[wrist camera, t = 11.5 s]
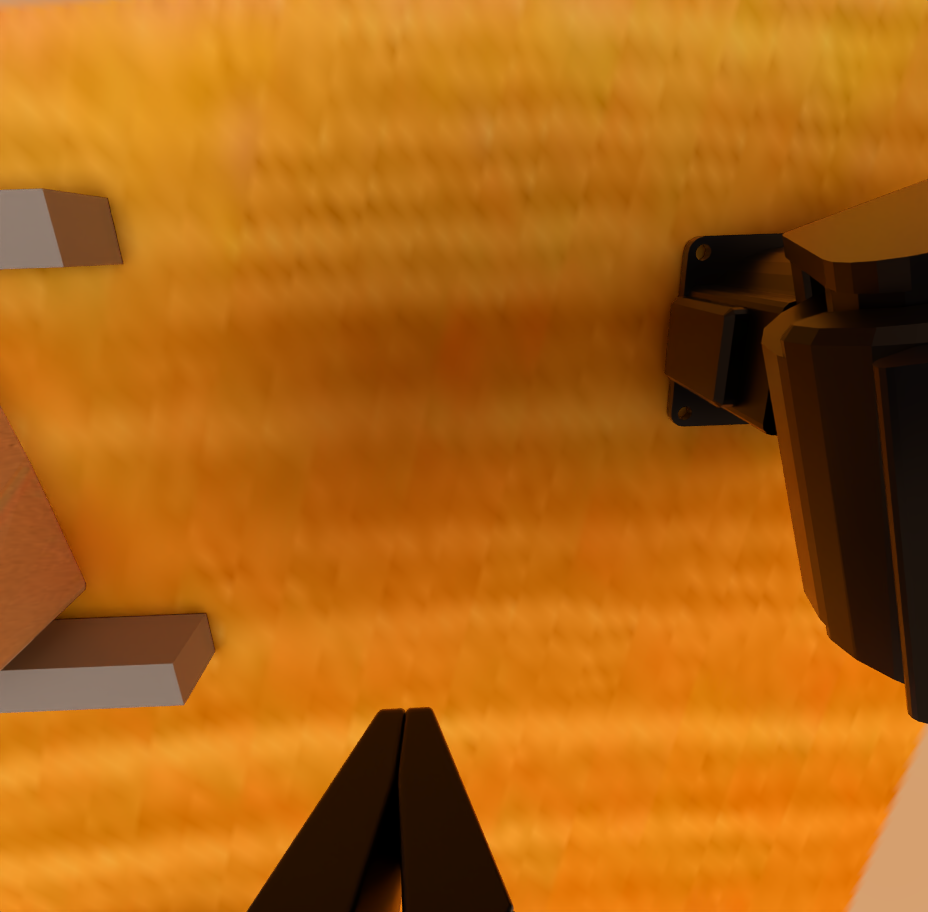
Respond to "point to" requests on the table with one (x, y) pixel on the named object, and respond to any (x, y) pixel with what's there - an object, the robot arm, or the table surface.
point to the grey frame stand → (92, 639)
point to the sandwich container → (29, 553)
